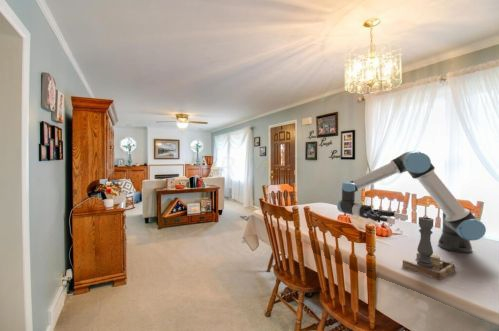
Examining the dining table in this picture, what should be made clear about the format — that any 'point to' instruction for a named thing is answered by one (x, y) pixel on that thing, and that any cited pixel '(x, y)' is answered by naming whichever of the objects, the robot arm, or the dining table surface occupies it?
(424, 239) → the candle holder
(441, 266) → the offcut lower
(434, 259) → the offcut upper
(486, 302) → the dining table surface
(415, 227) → the dining table surface
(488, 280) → the dining table surface
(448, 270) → the walnut caddy
